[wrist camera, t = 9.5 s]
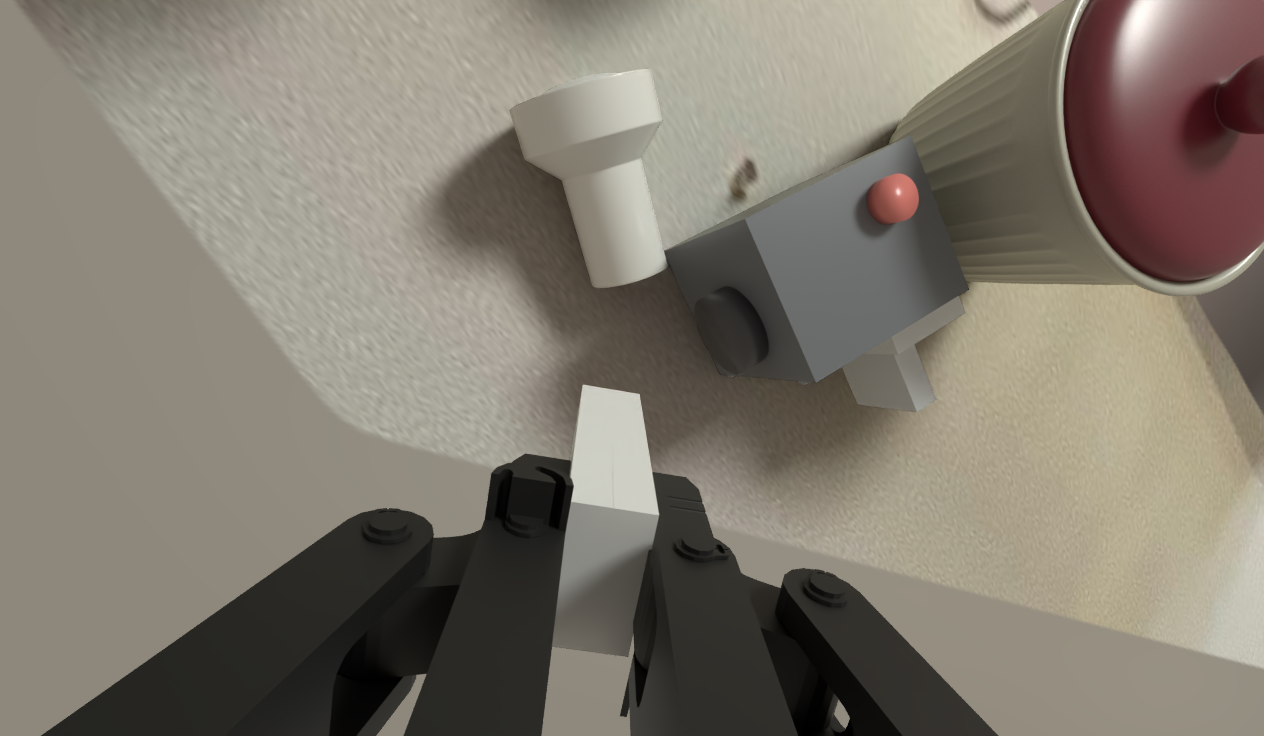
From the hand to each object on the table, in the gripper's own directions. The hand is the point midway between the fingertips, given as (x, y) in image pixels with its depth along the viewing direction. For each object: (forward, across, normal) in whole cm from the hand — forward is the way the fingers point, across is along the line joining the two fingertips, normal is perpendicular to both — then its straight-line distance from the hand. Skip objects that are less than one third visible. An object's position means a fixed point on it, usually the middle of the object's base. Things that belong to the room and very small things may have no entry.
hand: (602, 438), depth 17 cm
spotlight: (+26, -2, +6) cm, 27 cm away
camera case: (+28, +10, +3) cm, 30 cm away
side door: (+27, +18, -1) cm, 33 cm away
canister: (+34, +24, +11) cm, 42 cm away
